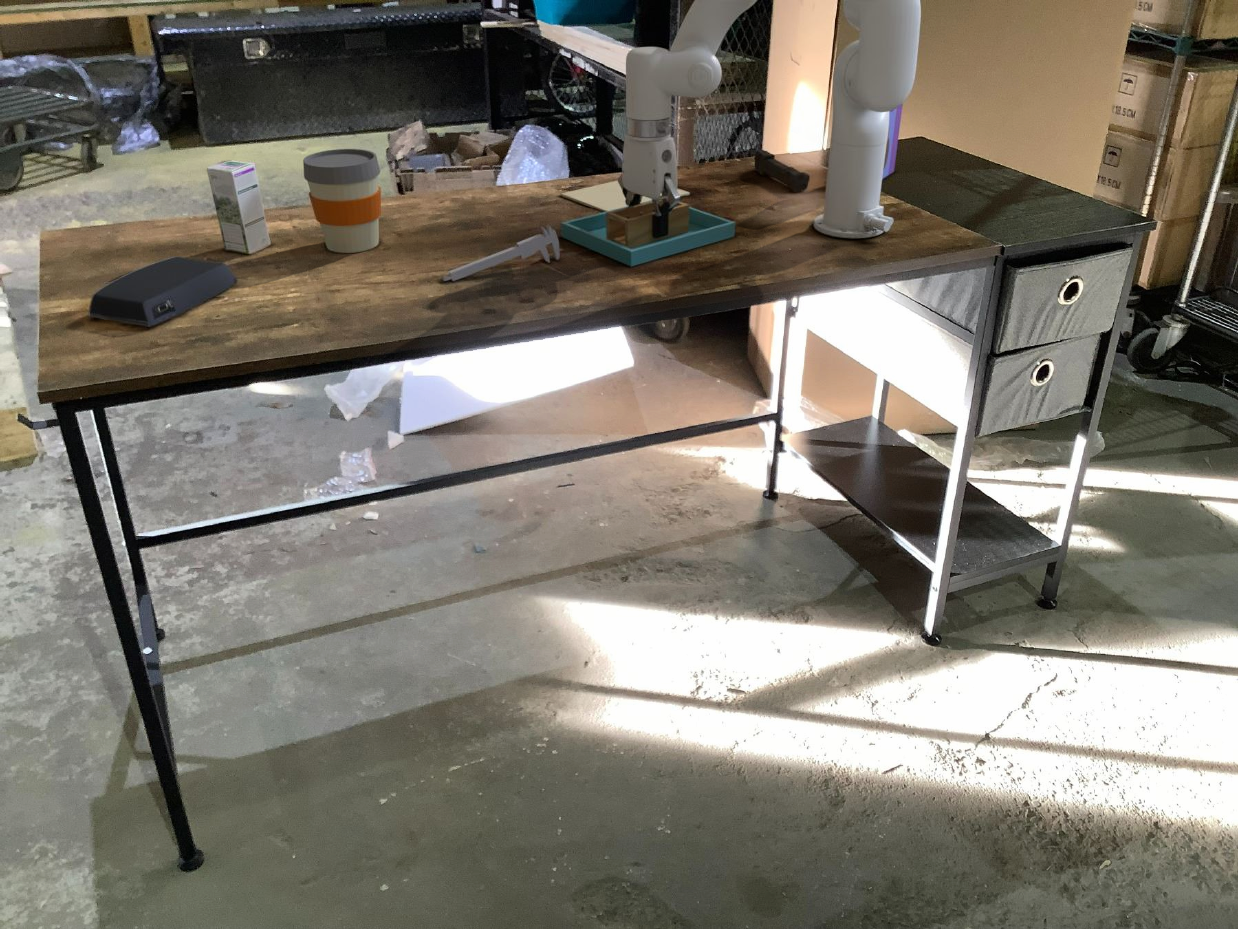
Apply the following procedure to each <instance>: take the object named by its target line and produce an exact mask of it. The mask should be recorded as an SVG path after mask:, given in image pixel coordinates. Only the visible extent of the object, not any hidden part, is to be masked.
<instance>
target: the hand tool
mask: <svg viewBox="0 0 1238 929" xmlns="http://www.w3.org/2000/svg"><path fill="white" fill-rule="evenodd" d="M753 160H754V169H755V170H756V172H758V173H759V174H760V175H761V176H762V177H771V178H772V179H775V180H777V181H778V182H780V183H782V184H783V185H785V186H787V187H788V188H790V191H792V193H794V194H795V193H801V192H803V191H806V189H808V187H809V182H810V175H809V174H808V173H807V172H805V171H799V170H798V169H796V168H795V167H794V166H793V167H792V166H789V165H787V164H785V163H783V162H781V161H780V160H777V159H776V157H775V154H773V153H771V152H770V151H768V150H764V149H759V150H757V151H756V152H755V155H754V159H753Z"/></svg>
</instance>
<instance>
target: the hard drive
mask: <svg viewBox="0 0 1238 929" xmlns="http://www.w3.org/2000/svg"><path fill="white" fill-rule="evenodd" d="M238 281H239V280H238V279H237V277H236V275H235V274H234V273H233V271H232V270H231V268H230V267H229V266H228V265H227V264H226V263H223V262H215V261H208V260H201V259H196V258H195V259H194V258H189V257H183V256H177V255H176V256H175V255H174V256H171V257H167V258H165V259H162V260H159V261H156V262H153V263H149V264H147V265H145V266H142V267H140V268H138V269H135V270H133V271H131V272H128V273H126V274H124V275H122V276H120V277H118V278H117V279H114V280H113V281H111V282H109V283H108V284H105V285H104V286H103V287H101V288H99V289H98V290H97V291H95V292H94V293H93V294H92V296H91V298H90V302H89V308H88V317H90V318H96V319H100V320H106V321H113V322H119V323H124V324H129V325H135V326H140V327H146V328H151V327H154V326H157V325H159V324H162V323H163V322H166V321H168V320H171V319H172V318H174V317H177V316H180V315H181V314H183V313H185V312H187V311H190V310H192V309H193V308H196V307H198V306H199V305H201V304H203V303H205V302H207V301H208V300H210V299H212V298H214V297H215V296H218V295H220V294H221V293H223V292H225V291H226V290H228V289H229V288H231V287H232V286H235V285H236V284H237V283H238Z"/></svg>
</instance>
